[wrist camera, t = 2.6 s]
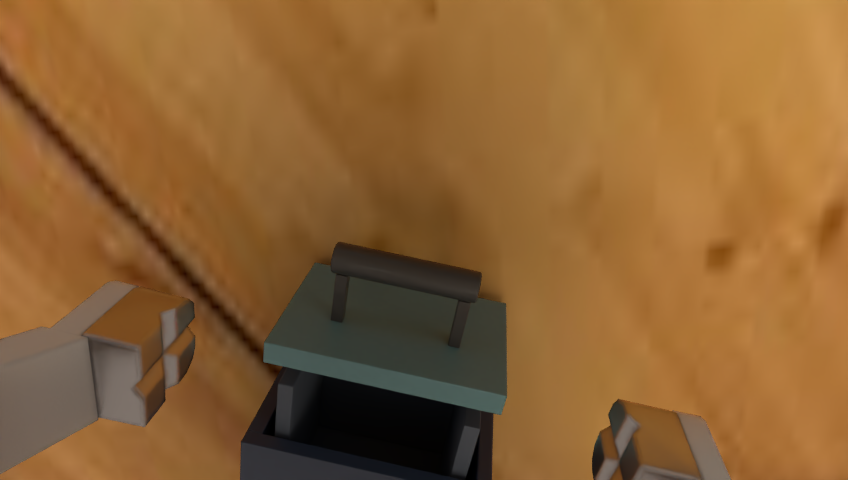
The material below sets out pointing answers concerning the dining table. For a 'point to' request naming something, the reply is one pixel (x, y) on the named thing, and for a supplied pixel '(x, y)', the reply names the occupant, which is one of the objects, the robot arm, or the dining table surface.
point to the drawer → (390, 360)
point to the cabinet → (336, 455)
